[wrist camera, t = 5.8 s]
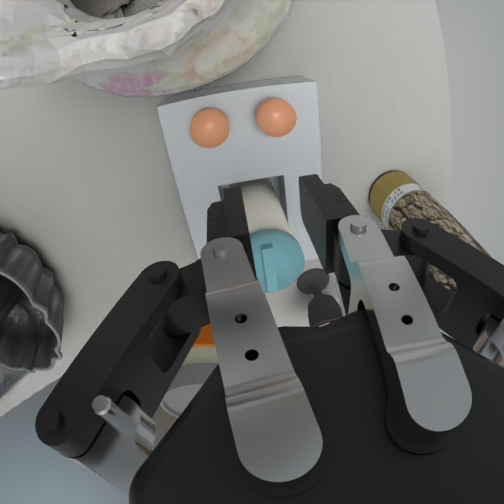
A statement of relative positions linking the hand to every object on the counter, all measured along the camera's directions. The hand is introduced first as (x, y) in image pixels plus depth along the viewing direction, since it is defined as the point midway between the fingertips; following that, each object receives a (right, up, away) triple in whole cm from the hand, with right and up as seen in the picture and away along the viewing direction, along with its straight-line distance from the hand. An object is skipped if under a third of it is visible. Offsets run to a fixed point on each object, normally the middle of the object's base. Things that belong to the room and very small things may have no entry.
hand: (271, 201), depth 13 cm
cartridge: (-1, +5, +22) cm, 22 cm away
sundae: (+8, -6, +33) cm, 34 cm away
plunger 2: (+1, +11, +14) cm, 18 cm away
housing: (-1, +7, +21) cm, 22 cm away
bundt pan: (-40, -6, +26) cm, 48 cm away
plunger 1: (-5, +10, +14) cm, 18 cm away
